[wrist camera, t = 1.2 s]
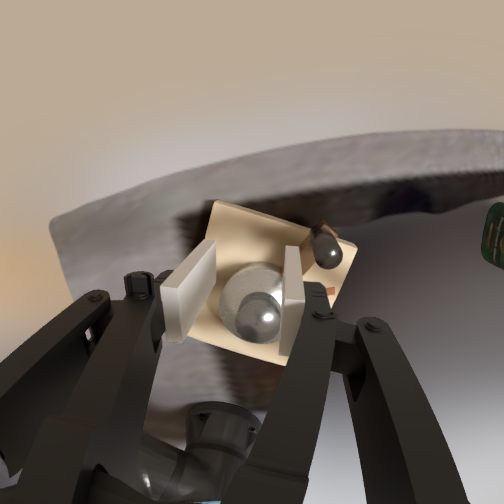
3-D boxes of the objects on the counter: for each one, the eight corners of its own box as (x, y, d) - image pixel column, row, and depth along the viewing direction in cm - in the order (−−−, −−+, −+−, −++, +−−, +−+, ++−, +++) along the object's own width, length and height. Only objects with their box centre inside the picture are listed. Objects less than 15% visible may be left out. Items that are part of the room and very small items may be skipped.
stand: (299, 361, 41) (299, 370, 39) (187, 327, 42) (183, 335, 40) (354, 243, 35) (357, 249, 32) (218, 199, 35) (213, 202, 33)
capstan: (268, 342, 38) (264, 382, 31) (209, 302, 37) (191, 337, 30) (358, 249, 32) (377, 275, 25) (293, 196, 31) (296, 208, 24)
